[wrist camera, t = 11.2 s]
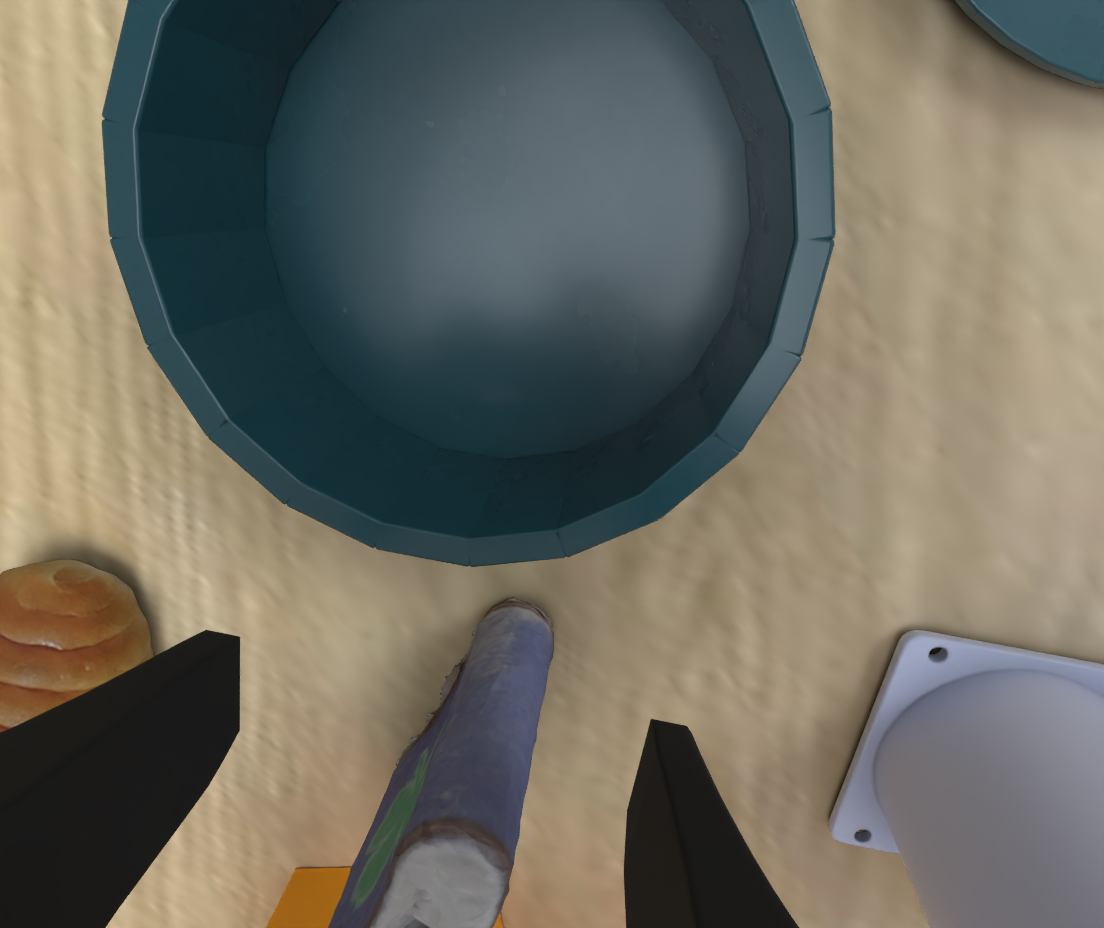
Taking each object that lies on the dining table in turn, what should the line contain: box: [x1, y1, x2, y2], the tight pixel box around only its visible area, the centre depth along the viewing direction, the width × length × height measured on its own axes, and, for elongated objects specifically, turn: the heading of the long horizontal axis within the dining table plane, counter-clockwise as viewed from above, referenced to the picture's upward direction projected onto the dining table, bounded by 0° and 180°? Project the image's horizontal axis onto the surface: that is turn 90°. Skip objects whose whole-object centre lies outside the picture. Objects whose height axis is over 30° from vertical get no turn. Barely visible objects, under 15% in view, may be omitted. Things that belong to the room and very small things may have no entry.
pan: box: [102, 0, 835, 567], centre depth 16 cm, size 13×13×6 cm
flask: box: [328, 598, 554, 928], centre depth 19 cm, size 9×3×11 cm, turn 152°
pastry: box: [0, 560, 154, 732], centre depth 23 cm, size 9×7×4 cm
